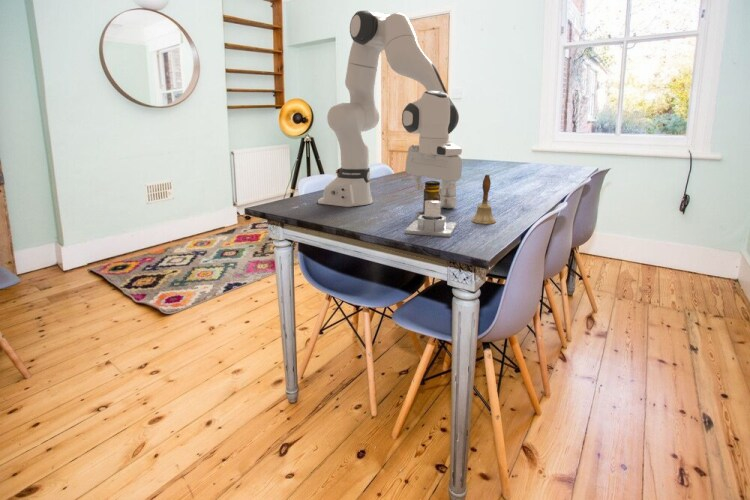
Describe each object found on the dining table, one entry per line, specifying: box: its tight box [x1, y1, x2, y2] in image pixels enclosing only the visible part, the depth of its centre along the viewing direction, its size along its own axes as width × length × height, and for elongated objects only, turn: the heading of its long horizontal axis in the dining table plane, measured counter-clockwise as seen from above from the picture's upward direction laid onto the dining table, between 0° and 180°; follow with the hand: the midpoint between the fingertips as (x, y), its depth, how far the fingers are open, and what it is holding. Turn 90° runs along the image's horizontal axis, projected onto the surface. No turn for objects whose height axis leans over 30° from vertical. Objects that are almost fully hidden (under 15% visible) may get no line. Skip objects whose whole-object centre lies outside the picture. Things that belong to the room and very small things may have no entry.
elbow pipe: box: [424, 200, 442, 220], centre depth 146 cm, size 5×5×8 cm
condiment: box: [414, 180, 444, 217], centre depth 166 cm, size 7×8×12 cm
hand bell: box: [470, 174, 497, 225], centre depth 155 cm, size 8×8×16 cm
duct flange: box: [404, 214, 458, 238], centre depth 146 cm, size 14×14×4 cm
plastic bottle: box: [440, 180, 458, 210], centre depth 174 cm, size 6×7×20 cm
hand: (430, 191), depth 144 cm, fingers open, 8 cm apart
